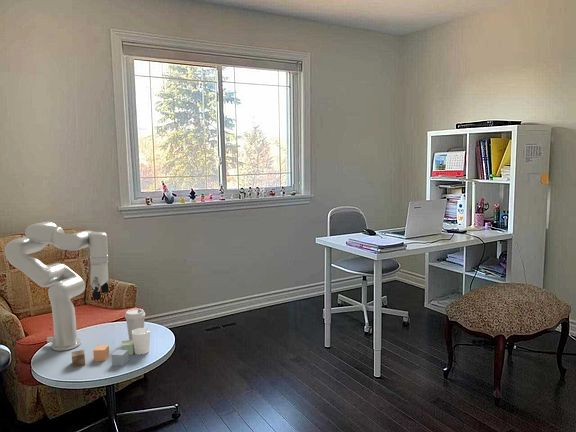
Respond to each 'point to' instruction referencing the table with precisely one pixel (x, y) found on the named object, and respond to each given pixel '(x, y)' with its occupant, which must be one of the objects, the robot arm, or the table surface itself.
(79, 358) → the walnut block
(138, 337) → the white cup
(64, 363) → the table surface
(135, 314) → the coffee cup
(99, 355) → the terracotta block
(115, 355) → the slate block
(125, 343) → the sage block
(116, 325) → the table surface
